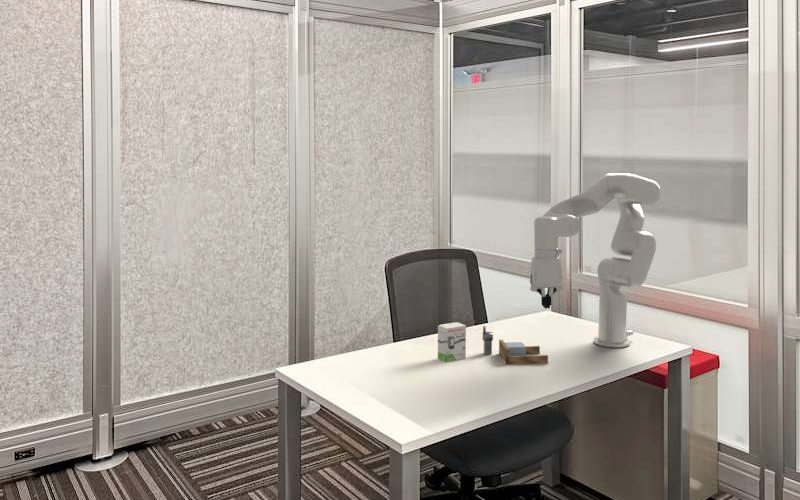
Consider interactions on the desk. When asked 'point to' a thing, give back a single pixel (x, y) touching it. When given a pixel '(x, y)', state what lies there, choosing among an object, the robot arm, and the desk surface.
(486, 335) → the winch post
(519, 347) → the blue-grey cube
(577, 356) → the desk surface
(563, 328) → the desk surface
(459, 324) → the ink box
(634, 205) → the robot arm
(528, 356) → the bay
